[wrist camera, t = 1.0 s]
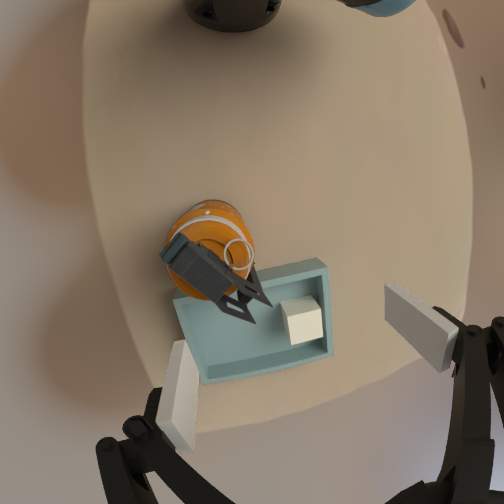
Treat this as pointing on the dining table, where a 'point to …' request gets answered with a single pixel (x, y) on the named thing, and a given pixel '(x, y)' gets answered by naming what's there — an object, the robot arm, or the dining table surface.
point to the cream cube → (302, 319)
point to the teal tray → (256, 326)
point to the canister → (214, 258)
